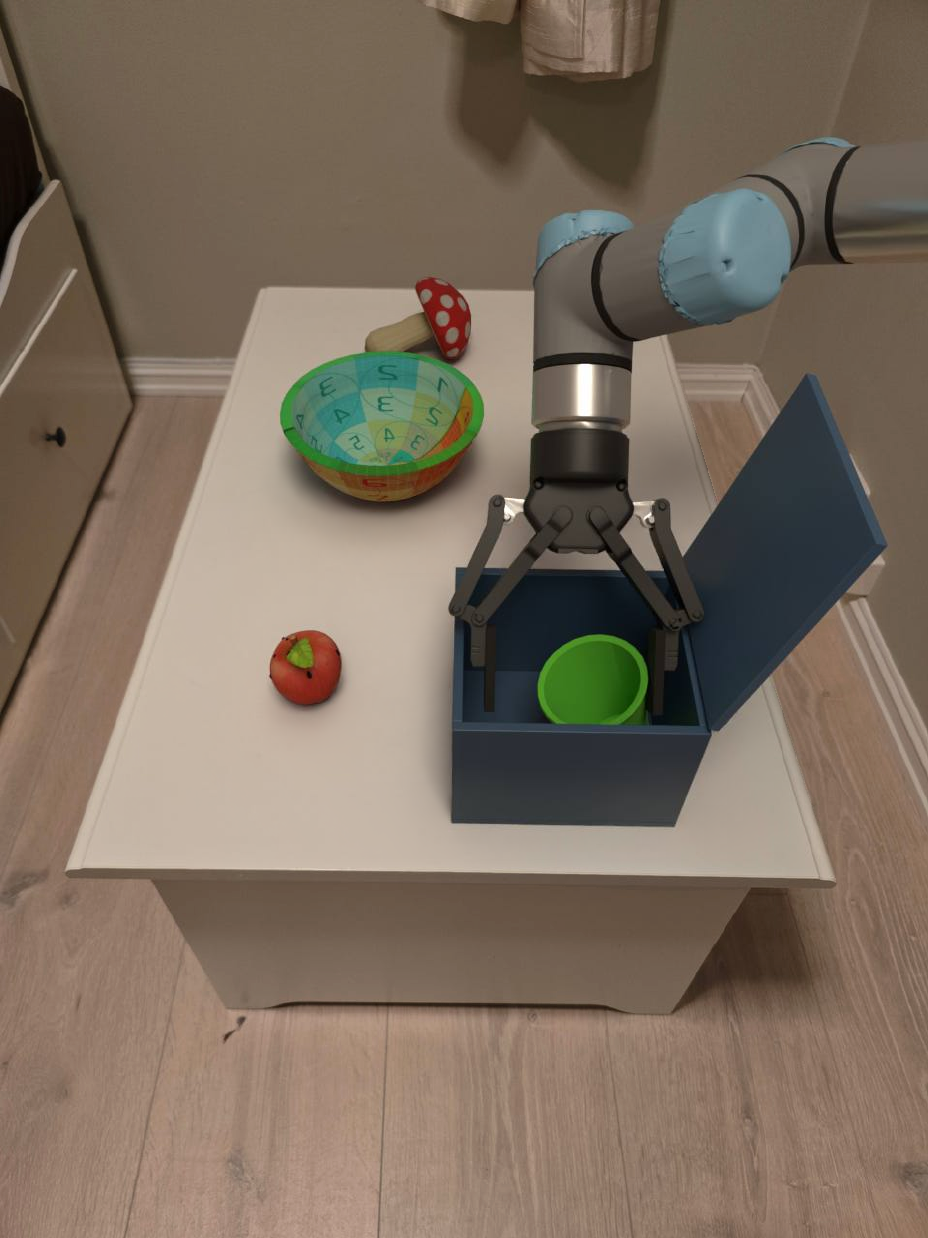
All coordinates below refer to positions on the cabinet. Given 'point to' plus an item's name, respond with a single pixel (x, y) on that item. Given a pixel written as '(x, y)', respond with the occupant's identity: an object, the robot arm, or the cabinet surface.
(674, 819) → the box
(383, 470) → the bowl
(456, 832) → the cabinet surface
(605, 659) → the cup
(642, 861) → the cabinet surface
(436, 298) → the decorative mushroom
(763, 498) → the lid
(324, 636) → the apple
